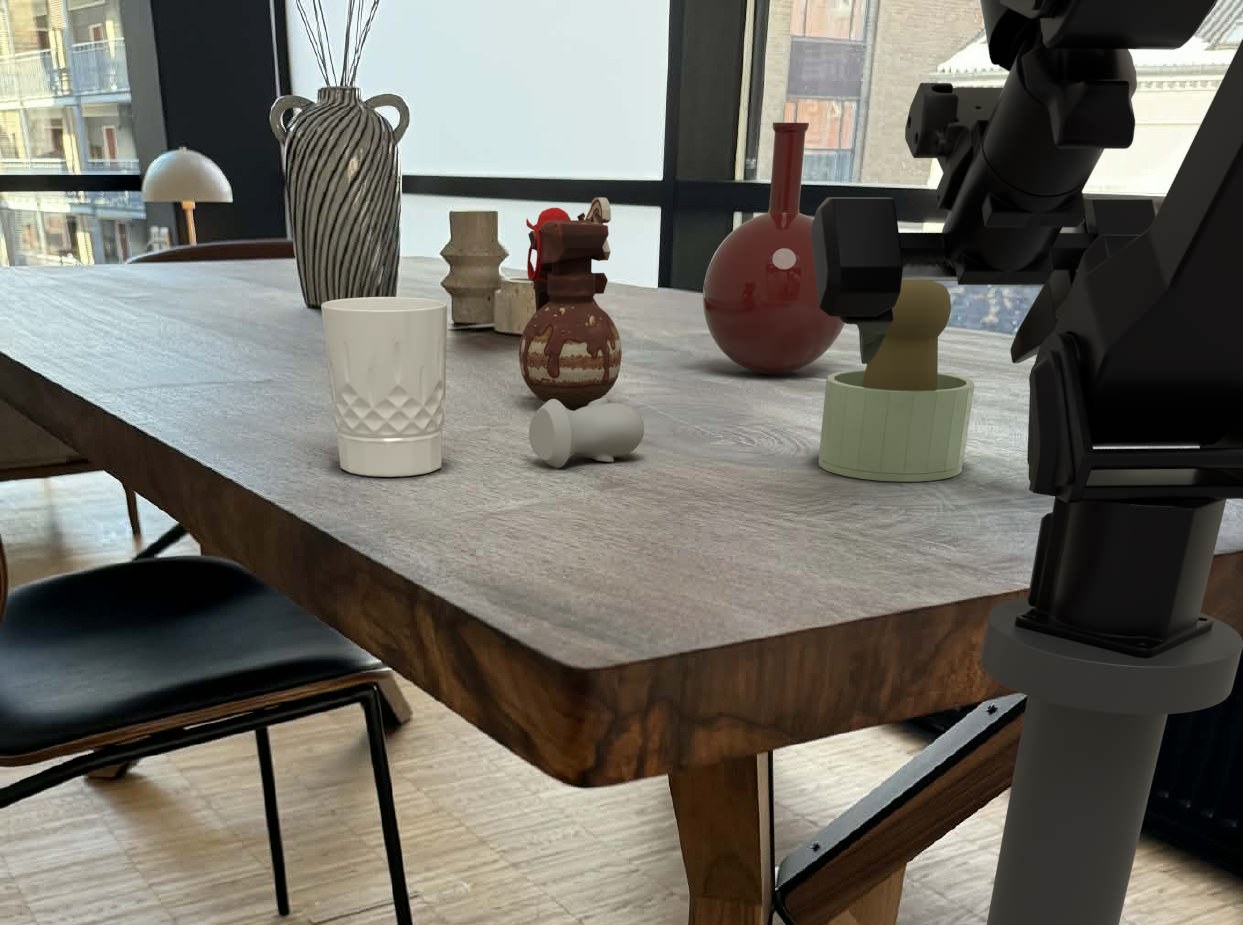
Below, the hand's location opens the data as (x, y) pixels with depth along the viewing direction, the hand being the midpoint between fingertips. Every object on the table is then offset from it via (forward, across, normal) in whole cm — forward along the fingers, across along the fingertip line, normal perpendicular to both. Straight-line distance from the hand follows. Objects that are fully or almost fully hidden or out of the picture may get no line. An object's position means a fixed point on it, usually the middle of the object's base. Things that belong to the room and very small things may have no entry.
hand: (939, 356), depth 87 cm
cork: (+10, 0, 0) cm, 10 cm away
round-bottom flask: (+39, 0, -28) cm, 48 cm away
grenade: (+28, +20, -17) cm, 38 cm away
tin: (+11, 0, 0) cm, 11 cm away
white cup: (+12, +33, 0) cm, 35 cm away
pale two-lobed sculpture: (+13, +20, -2) cm, 24 cm away
